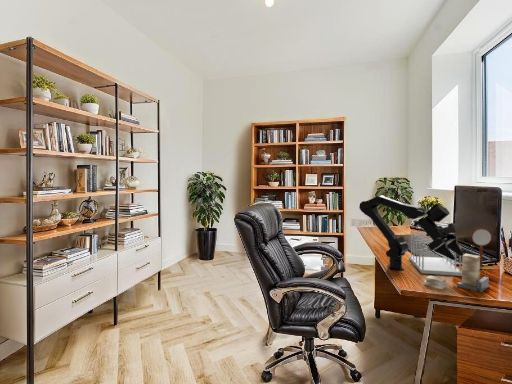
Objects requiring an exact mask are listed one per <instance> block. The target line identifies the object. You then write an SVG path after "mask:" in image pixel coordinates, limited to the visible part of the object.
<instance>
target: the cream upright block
mask: <svg viewBox="0 0 512 384" xmlns="http://www.w3.org/2000/svg"><path fill="white" fill-rule="evenodd" d="M463 254H464V255H462V256H461V271H462V276H461V283H464V284H468V285H473V286H477V281H479V280H480V275H481V274H480V271H481V270H480V256H479V255H478V254H477V255H475V254H471V253H463Z"/></svg>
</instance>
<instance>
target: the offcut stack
mask: <svg viewBox="0 0 512 384" xmlns="http://www.w3.org/2000/svg"><path fill="white" fill-rule="evenodd" d="M426 285H428V286H427V287H430V286H432V287H431V288H434V287H435V288H434V289H438V288H439V290H441V289H442V290H443V288H444V289H445V288H447V287H448V286H447V285H448V283H447V281H446V278H443V277H437V276H434V275H429V276H426V278H425V280H424V281H423V286H426Z"/></svg>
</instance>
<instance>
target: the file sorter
mask: <svg viewBox="0 0 512 384" xmlns="http://www.w3.org/2000/svg"><path fill="white" fill-rule="evenodd" d="M414 234H415V235H414ZM426 234H427V233H426V232H425V231H415V232H412V233H411V235H410V255H409V258H408V259H409V260H410V261H411V263H412V264H413V265H414V267H415V268H417V270H418V271H419V273H421V274H426V275H430V274H432V275H442V276H457V277H462V256H460V255H459V268H458V267H457V253H455V252H454V251H453V252H454V253H452V250H451V249H449V250H450V251H451V253H452V254H453V255H454V257H455V258H456V259H455V260H454V264H453V263H452V261H453V260H452V259H450V258H448V257H446V256H444V255H442V257H434V256H425V252H424V251H425V245H427V244H430V243H431V242H432V241H433V240H432V239H431V237H430V236H428V237H427V236H426ZM413 235H414V236H413ZM418 236H419V237H418ZM416 237H417V238H416ZM415 238H416V239H415ZM422 238H423V239H422ZM419 239H421V240H420V241H419V242H418V240H419ZM423 241H426V242H424V243H423V245H422V253H421V243H422V242H423ZM458 245H459V247H460V249H461V250H462V246H461V244H459V243H458ZM421 255H422V256H421ZM449 260H450V261H449Z"/></svg>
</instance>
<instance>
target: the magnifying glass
mask: <svg viewBox="0 0 512 384" xmlns="http://www.w3.org/2000/svg"><path fill="white" fill-rule="evenodd" d="M470 237H471V242H473V244H474V245H476V246H477V247H479V255H478V256H480V269H482V268H483V252H484V246H488V245H489V244H490V243H491V242H492V240H493V236H492V233H491V232H490V231H489V230H488V229H486V228H481V227H480V228H476V229H475V230H473V231H472V233H471V236H470Z"/></svg>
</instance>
